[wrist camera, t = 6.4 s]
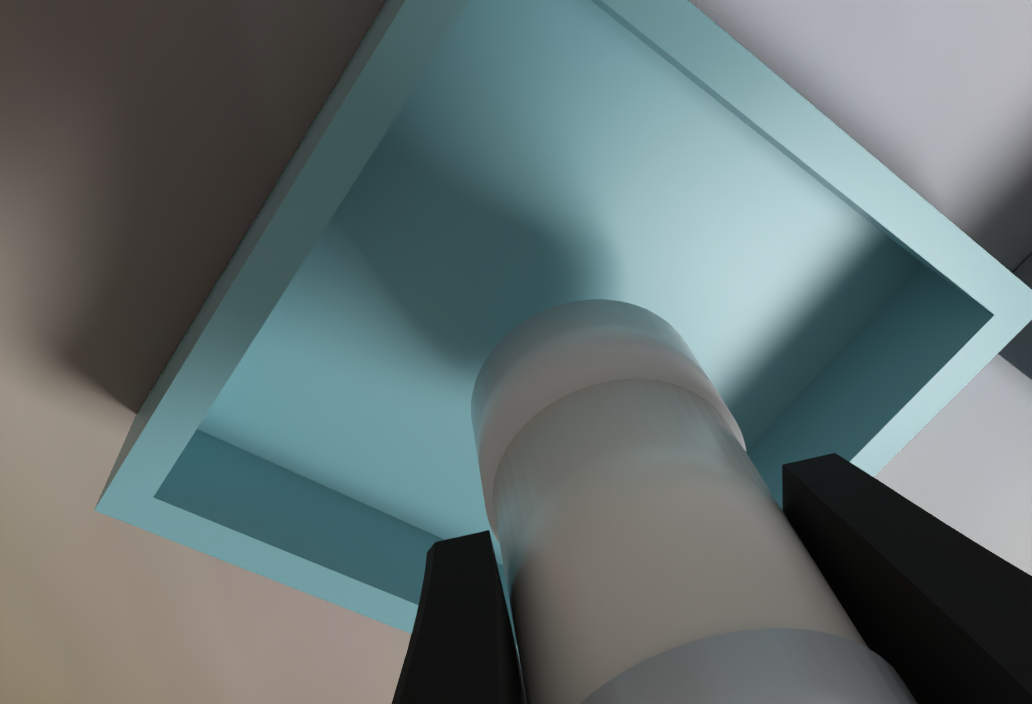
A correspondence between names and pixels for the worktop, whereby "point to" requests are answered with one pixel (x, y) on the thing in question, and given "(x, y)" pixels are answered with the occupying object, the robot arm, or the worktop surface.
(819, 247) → the parts tray
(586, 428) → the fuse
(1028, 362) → the grey square dish
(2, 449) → the worktop surface
